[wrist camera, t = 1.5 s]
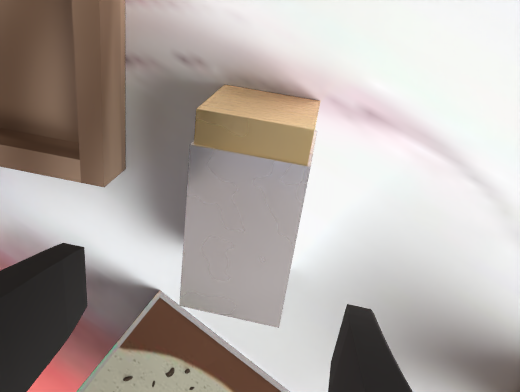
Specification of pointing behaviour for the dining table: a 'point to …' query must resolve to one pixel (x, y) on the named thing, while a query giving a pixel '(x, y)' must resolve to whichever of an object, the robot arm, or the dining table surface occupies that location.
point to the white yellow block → (245, 201)
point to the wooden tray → (63, 88)
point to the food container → (175, 358)
